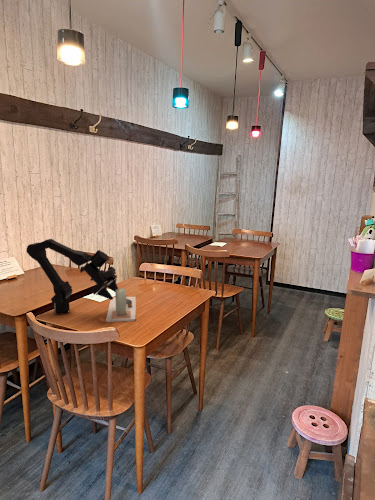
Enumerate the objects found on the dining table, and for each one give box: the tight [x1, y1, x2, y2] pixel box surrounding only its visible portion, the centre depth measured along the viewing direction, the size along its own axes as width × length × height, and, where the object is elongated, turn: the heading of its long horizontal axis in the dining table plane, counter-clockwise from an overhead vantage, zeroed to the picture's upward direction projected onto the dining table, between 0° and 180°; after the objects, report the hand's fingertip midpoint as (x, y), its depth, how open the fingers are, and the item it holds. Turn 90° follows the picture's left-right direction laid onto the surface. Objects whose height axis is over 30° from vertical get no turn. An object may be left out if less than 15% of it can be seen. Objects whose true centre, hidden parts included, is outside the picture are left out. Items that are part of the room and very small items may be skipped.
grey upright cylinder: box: [114, 287, 127, 316], centre depth 169 cm, size 5×5×12 cm
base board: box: [105, 296, 137, 323], centre depth 181 cm, size 34×14×1 cm, turn 8°
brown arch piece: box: [126, 299, 132, 308], centre depth 182 cm, size 8×11×4 cm
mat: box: [111, 311, 131, 319], centre depth 170 cm, size 9×9×1 cm
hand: (116, 296), depth 169 cm, fingers open, 9 cm apart
